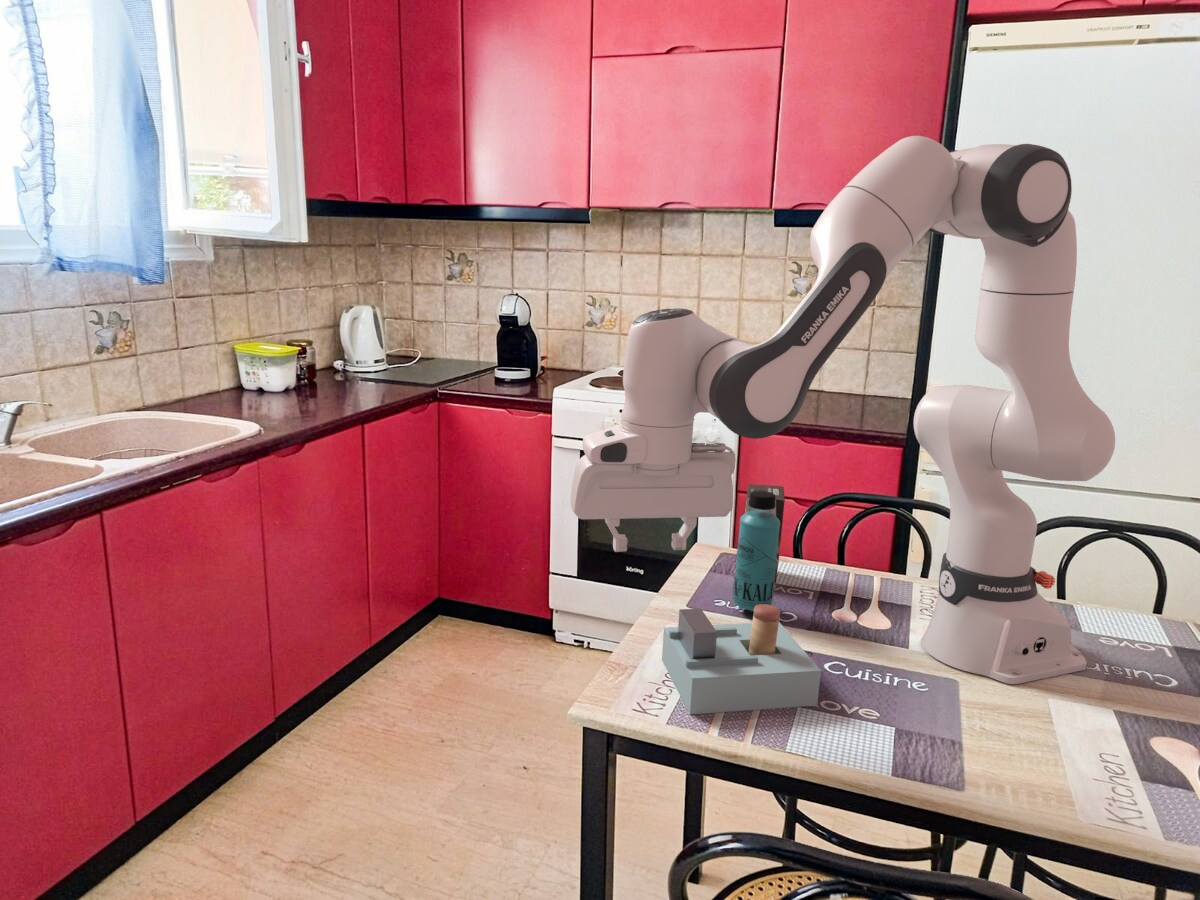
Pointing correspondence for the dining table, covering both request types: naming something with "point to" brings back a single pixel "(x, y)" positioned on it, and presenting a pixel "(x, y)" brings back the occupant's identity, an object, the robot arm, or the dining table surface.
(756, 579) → the beverage bottle
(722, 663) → the block
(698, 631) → the bar
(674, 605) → the dining table surface
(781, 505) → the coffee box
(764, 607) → the pin
